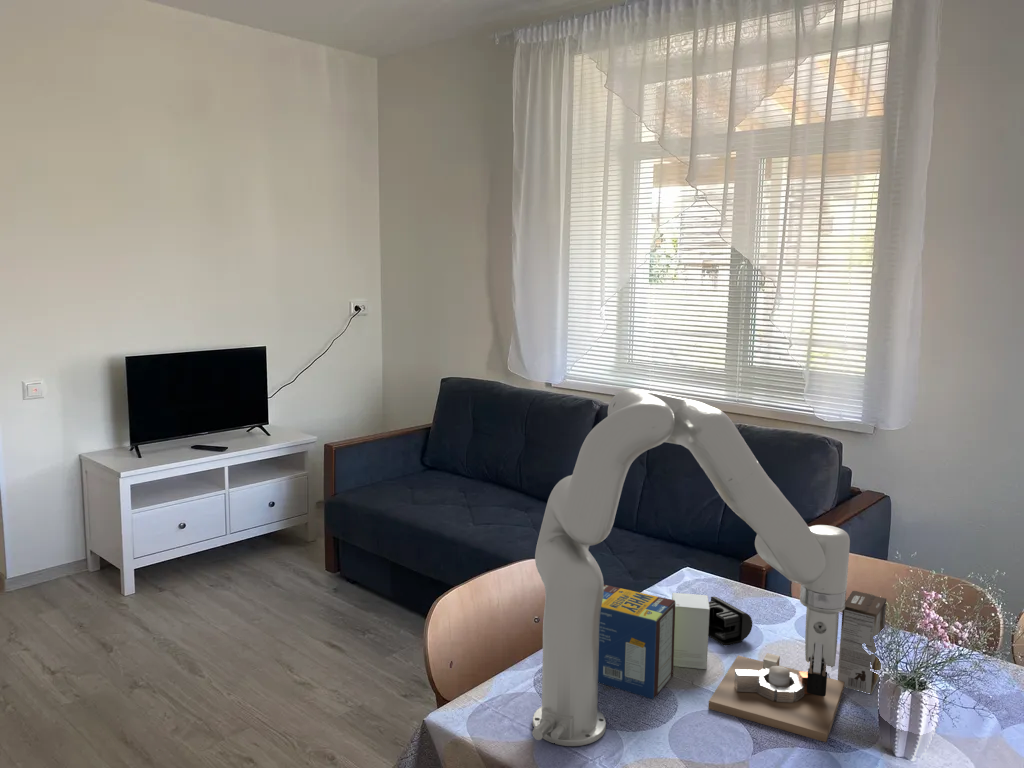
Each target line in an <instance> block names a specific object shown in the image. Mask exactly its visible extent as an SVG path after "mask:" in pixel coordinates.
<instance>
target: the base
mask: <svg viewBox="0 0 1024 768" xmlns="http://www.w3.org/2000/svg"><path fill="white" fill-rule="evenodd" d="M780 659H781V656H780V655H777V654H773V653H769V652H766V654H765V656H764V658H763V661H762V660H758V659H754V658H749V657H747V656H746V657H745V656H742V655H737V657H736V658H735V659H734V661H733V663H732V664H731V666H730V667H729V669H728V671H727V672H725V673H726V674H725V676H724V677H723V678H722V679H721V681H720V682H719V684H718V686H717V688H716V689H715V691H714V692H713V694H712V696H710V699H709V700H708V709H709V710H712V711H715V712H719V713H722V714H726V715H730V716H733V717H736V718H739V719H743V720H748V721H750V722H753V723H754V722H755V723H757V724H761V725H764V726H767V727H771V728H774V729H775V728H776V729H778V730H782V731H785V732H788V733H791V734H796V735H798V736H801V737H807V738H809V739H813V740H817V741H819V742H823V743H827V741H828V739H829V736H830V733H831V729H832V726H833V723H834V720H835V718H836V714H837V712H838V709H839V706H840V703H841V700H842V697H843V694H844V690H845V687H844V684H845V682H843V681H839V680H838V679H834V678H830V677H827V684H826V695H825V696H819V695H814V694H804V697H802V698H801V699H799V700H798V701H797V702H794V701H793V703H791V702H777V701H776V700H775V701H772V700H770V699H767V698H765V697H763V696H761V695H759V693H757V692H737V691H736V688H735V686H734V680H735V669H741V670H757V671H760V670H761V669H764V670H765V668H769V684H771V685H774V686H776V687H789V680H790V672H791V673H793V674H796V675H798V674H799V672H804V671H803V670H798V669H794V668H790V667H787V666H783V665H780V662H781V661H780ZM839 702H840V703H839ZM838 705H839V706H838ZM837 708H838V709H837Z"/></svg>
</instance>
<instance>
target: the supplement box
mask: <svg viewBox="0 0 1024 768" xmlns="http://www.w3.org/2000/svg"><path fill="white" fill-rule="evenodd" d="M671 600H675V630H674V662H673V667H679V668H690V669H698V670H699V669H700V670H707V667H708V652H709V649H708V648H709V636H708V631H709V612H710V607H709V602H710V601H709V595H706V594H695V593H694V594H693V593H682V592H681V593H680V592H679V593H678V592H672V594H671Z"/></svg>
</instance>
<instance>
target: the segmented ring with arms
mask: <svg viewBox="0 0 1024 768" xmlns="http://www.w3.org/2000/svg"><path fill="white" fill-rule="evenodd" d="M807 678H808V671H803V672H799V674H798V675H796V674H793V673H791V672H790V680H789V687H776V686H774V685H771V684H769V668H765V670H764V669H761V670H760V671H757V670H741V669H735V680H734V686H735V688H736V691H737V692H757V693H759V695H761V696H763V697H765V698H767V699H770V700H772V701H775V700H776V701H777V702H791V703H793V701H794V702H797V701H798V700H799V699H801V698H802V697H804V694H809V693H807Z"/></svg>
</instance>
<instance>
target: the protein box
mask: <svg viewBox="0 0 1024 768" xmlns="http://www.w3.org/2000/svg"><path fill="white" fill-rule="evenodd" d="M674 630H675V600H672V598H671V599H670V598H666V597H662V596H657V595H652V594H648V593H643V592H640V591H639V592H638V591H634V590H631V589H626V588H621V587H617V586H614V585H613V586H612V585H608V584H604V593H603V600H602V606H601V612H600V624H599V662H598V682H599V683H598V684H601V683H602V685H605V686H608V687H611V688H615V689H619V690H621V691H624V692H629V693H632V694H635V695H638V696H641V697H645V698H649V699H652V700H654V699H655V698H656V697H657V696H658V695H659V693H660V692H661V691H662V690H663V688H665V686H666V685H667V683H669V681H670V680H671V678H672V677H673V676H674V666H673V662H674Z"/></svg>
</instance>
